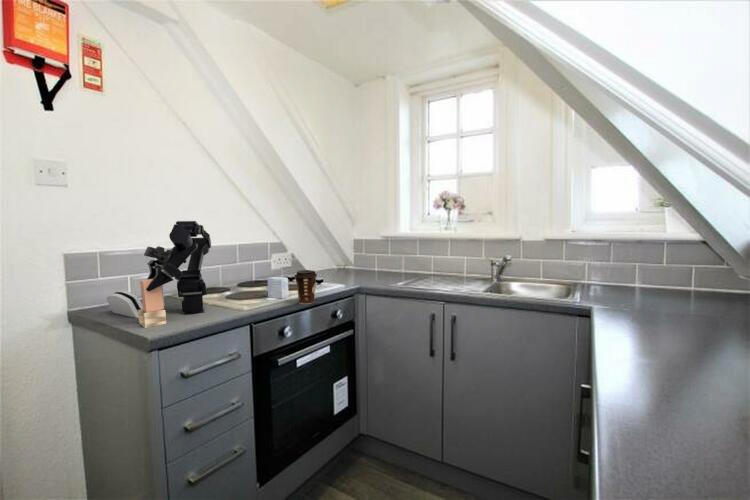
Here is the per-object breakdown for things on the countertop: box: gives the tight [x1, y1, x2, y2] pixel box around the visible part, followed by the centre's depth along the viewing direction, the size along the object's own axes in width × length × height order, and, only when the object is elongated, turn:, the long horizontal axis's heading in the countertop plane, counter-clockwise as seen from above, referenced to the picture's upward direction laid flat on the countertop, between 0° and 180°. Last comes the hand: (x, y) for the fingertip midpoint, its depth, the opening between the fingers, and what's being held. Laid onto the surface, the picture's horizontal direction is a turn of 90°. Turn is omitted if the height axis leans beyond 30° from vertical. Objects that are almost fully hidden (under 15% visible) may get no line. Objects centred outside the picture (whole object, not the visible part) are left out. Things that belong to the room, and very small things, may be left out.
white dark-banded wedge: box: [105, 290, 143, 319], centre depth 130 cm, size 17×5×10 cm, turn 61°
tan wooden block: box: [138, 309, 167, 329], centre depth 118 cm, size 6×8×4 cm
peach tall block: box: [139, 278, 165, 312], centre depth 118 cm, size 5×4×10 cm
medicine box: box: [267, 276, 289, 300], centre depth 156 cm, size 8×4×9 cm, turn 65°
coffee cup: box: [294, 269, 318, 305], centre depth 145 cm, size 9×8×13 cm
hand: (145, 289), depth 117 cm, fingers closed on peach tall block, 4 cm apart
